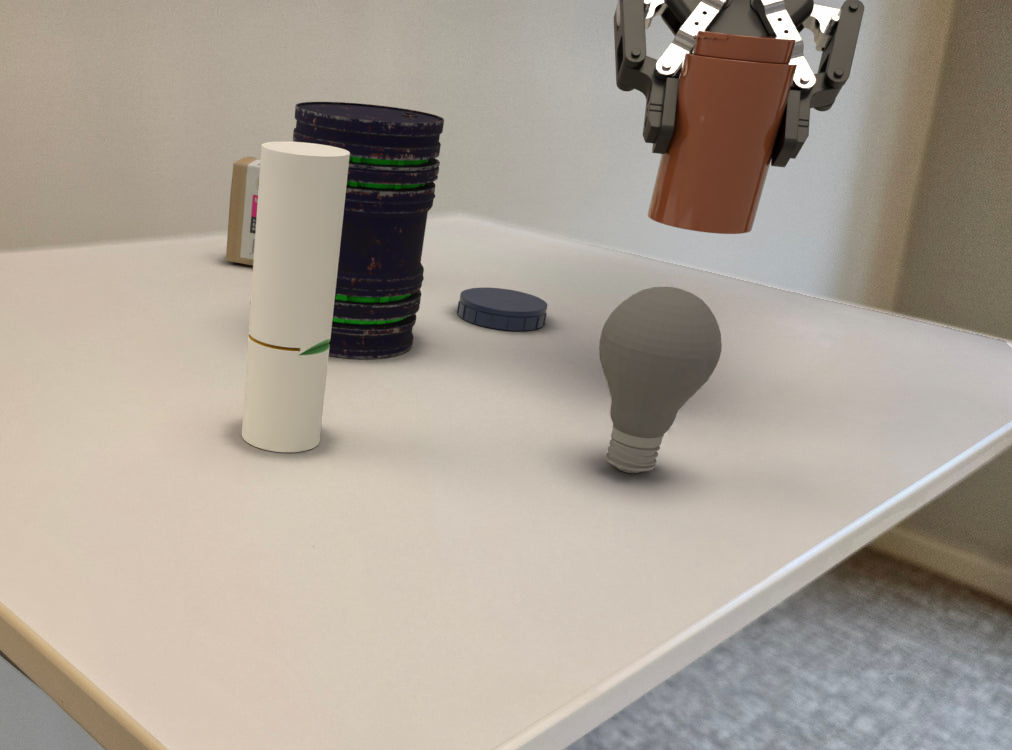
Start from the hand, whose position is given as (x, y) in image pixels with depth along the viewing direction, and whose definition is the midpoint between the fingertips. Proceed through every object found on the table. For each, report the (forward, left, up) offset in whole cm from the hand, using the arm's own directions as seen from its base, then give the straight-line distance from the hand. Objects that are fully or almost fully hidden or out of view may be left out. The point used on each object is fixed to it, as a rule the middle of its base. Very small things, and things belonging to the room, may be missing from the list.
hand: (723, 150), depth 61 cm
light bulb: (+10, +5, -16) cm, 19 cm away
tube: (+24, -8, -16) cm, 30 cm away
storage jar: (+8, -20, -16) cm, 27 cm away
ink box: (-1, -37, -16) cm, 40 cm away
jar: (-1, -1, -4) cm, 5 cm away
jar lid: (-7, -18, -14) cm, 24 cm away
